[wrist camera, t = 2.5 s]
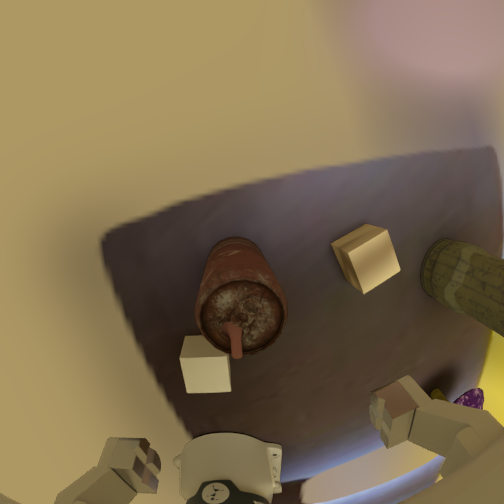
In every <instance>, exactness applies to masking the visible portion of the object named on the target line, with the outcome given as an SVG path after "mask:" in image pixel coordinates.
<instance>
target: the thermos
mask: <svg viewBox="0 0 504 504" xmlns="http://www.w3.org/2000/svg"><path fill="white" fill-rule="evenodd" d="M420 277H421V284H422V287H423V289H424V291H425V292H426V293H427V294H428V295H429V296H431V297H434V298H435V299H436V300H437V301H438V302H439V303H441V304H442V305H444V306H446V307H447V308H449V309H451V310H452V311H454V312H456V313H458V314H466V315H469V316H471V317H472V318H474V319H476V320H477V321H479V322H481V323H482V324H484V325H485V326H487V327H489V328H490V329H492V330H493V331H495V332H497V333H498V334H500V335H501V336H503V337H504V259H501V258H498V257H495V256H492V255H489V254H488V253H487V252H486V251H485V250H484V249H482V248H480V247H478V246H475V245H472V244H468V243H465V242H461V241H452V240H450V239H441V240H439V241H437V242H435V243H434V244H433V245H432V246H431V247H430V248H429V250H428V252H427V253H426V255H425V257H424V260H423V263H422V266H421V275H420Z"/></svg>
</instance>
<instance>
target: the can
mask: <svg viewBox="0 0 504 504" xmlns="http://www.w3.org/2000/svg"><path fill="white" fill-rule="evenodd" d="M195 317H196V324H197V326H198V328H199V330H200V331H201V333H202V335H203V336H204V337H205V338H206V340H207V341H208V342H209V343H210V344H211V345H212V346H213V347H214V348H216V349H218V350H220V351H222V352H224V353H226V354H231V355H232V357H233V358H234V359H240V358H241V357H242V356H245V355H253V354H256V353H258V352H261V351H264V350H265V349H266V348H268V347H269V346H271V345H272V344H273V343H274V342H275V341H276V340H277V338H278V337H279V336H280V334H281V333H282V330H283V329H284V326H285V323H286V320H287V317H288V305H287V300H286V298H285V295H284V293H283V290H282V288H281V287H280V285H279V283H278V281H277V279H276V277H275V276H274V274H273V272H272V270H271V268H270V267H269V265H268V263H267V261H266V259H265V258H264V256H263V254H262V252H261V250H260V249H259V248H258V247H257V246H256V244H255V243H253V242H251V241H250V240H248V239H245V238H241V237H230V238H227V239H224V240H222V241H220V242H219V243H218V244H216V245H215V246H214V247H213V249H212V250H211V252H210V254H209V256H208V260H207V263H206V267H205V271H204V274H203V278H202V282H201V285H200V289H199V293H198V296H197V301H196V306H195Z"/></svg>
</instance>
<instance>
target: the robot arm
mask: <svg viewBox="0 0 504 504" xmlns="http://www.w3.org/2000/svg"><path fill="white" fill-rule="evenodd" d="M370 400H371V401H372V404H371V405H370V407H369V413H370V418H371V421H372V423H373V425H374V427H375V429H378V430H380V431H381V434H380V437H381V439H382V441H383V443H384V444H385V446H386V448H387V449H388V448H390V447H393V446H395V445H397V444H399V443H402V442H404V441H406V440H408V441H410V442H412V443H414V444H416V445H419V446H421V447H423V448H425V449H427V450H430V451H432V452H434V453H437V454H439V455H441V456H443V457H446V458H445V460H444V462H443V463H442V465H441V467H440V469H439V473H440V474H441V476H442V477H443V479H441V480H440V481H438V482H437V483H435V484H433V485H431V486H430V487H428V488H426V489H424V490H423V491H421V492H419V493H417V494H415V495H413V496H411V497H409V498H407V499H405V500H403V501H401V502H399V503H397V504H504V427H503V426H502V425H501V424H500V423H499V422H498V421H497V420H496V419H495V418H494V417H493V416H492V415H491V414H490V413H489V412H488V411H486V410H482V409H477V408H472V407H468V406H463V405H459V404H455V403H451V402H447V401H443V400H439V399H433V400H431V399H430V397H429V396H428V395H427V394H426V393H425V392H424V391H423V390H422V389H421V387H420V386H419V385H418V384H417V383H416V382H415V381H414V380H413V379H412V378H411V376H408V375H407V376H405V377H403V378H401V379H399V380H396V381H394V382H392V383H389V384H387V385H385V386H382V387H380V388H378V389H375V390H373V391H371V393H370ZM149 446H150V443H149V442H148V441H147V439H145V438H117V437H114V438H113V437H110V438H109V439H107V442H106V444H105V447H104V449H103V452H102V455H101V457H100V460H99V463H98V465H97V467H93V468H92V469H91V470H89V471H88V472H86V473H85V474H84V475H83V476H81V477H80V478H79V479H77V480H76V481H75V482H73V483H72V484H71V485H69V486H68V487H67V488H66V489H64V490H63V491H61V492H60V493H59V494H58V495H57V497H56V501H55V503H54V504H129V503H130V502H131V501H132V500H133V498H134V497H135V496H136V495H137V493H152V494H156V493H157V487H158V479H157V477H156V475H157V474H158V473H159V472H160V469H161V462H160V458H159V456H158V454H157V453H156V451H155V450H153V449H151V448H150V447H149ZM281 458H282V447H281V445H279V444H274V443H265V442H262V441H260V440H258V439H255V438H253V437H250V436H247V435H242V434H236V433H214V434H207V435H203V436H200V437H197V438H195V439H193V440H191V441H190V442H189V443H188V444H187V445H186V446H185V448H184V450H183V452H182V453H181V454H180V455H178V456H177V457H175V458H174V465H175V466H176V467H177V468H178V469H179V470H180V478H179V479H180V480H179V481H180V482H179V484H180V485H179V486H180V488H179V489H180V490H179V491H180V495H181V496H182V497H183V498H184V499H185V500H187V503H186V504H270V503H271V502H272V497H273V493H281V492H282V488H281V483H280V471H281ZM0 504H20V503H18V502H16V501H14V500H12V499H10V498H8V497H6V496H5V495H3V494H1V493H0Z"/></svg>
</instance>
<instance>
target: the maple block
mask: <svg viewBox="0 0 504 504" xmlns="http://www.w3.org/2000/svg"><path fill="white" fill-rule="evenodd" d="M331 246H332V248H333V250H334V252H335V255H336V257H337V259H338V262H339V264H340V266H341V269H342V271H343V273H344V276H345V278H346V280H347V281H348V282H349V283H351V284H352V285H353V286H355V287H356V288H357V289H358V290H360V291H361V292H362V293H363V294H365V293H366V292H368V291H370V290H371V289H373V288H374V287H376V286H378V285H379V284H381V283H382V282H384V281H385V280H387V279H388V278H390V277H391V276H393V275H394V274H396V273H397V272H399V271H400V267H399V264H398V261H397V258H396V255H395V251H394V248H393V245H392V242H391V240H390V237H389V234H388V231H387V229H383V228H380V227H376V226H372V225H369V224H364V225H363V226H361V227H359V228H357V229H356V230H354V231H352V232H350V233H349V234H347V235H345V236H343V237H342V238H340V239H338V240H336V241H334V242H333V243H331Z"/></svg>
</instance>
